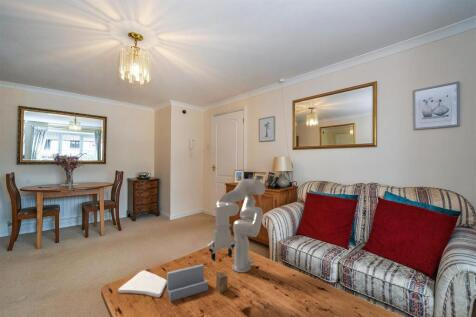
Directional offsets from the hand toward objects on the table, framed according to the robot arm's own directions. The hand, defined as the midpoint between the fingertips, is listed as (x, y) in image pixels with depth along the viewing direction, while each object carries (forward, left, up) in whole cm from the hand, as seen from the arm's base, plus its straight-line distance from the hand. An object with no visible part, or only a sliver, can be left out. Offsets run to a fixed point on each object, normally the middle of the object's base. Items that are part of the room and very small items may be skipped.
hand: (221, 258), depth 115 cm
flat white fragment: (+35, -24, -18) cm, 46 cm away
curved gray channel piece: (+17, -8, -17) cm, 25 cm away
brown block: (0, 0, -17) cm, 17 cm away
